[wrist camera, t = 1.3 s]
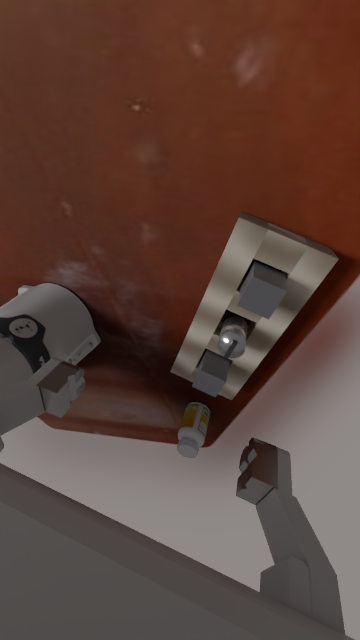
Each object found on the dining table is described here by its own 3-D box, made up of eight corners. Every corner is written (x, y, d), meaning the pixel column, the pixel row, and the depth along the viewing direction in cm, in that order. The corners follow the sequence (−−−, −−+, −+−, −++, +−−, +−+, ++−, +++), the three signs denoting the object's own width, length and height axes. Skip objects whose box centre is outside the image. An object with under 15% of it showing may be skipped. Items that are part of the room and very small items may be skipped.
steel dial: (240, 340, 38) (237, 365, 33) (218, 330, 38) (212, 354, 33) (252, 322, 35) (249, 346, 31) (228, 312, 36) (223, 334, 31)
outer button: (268, 299, 33) (268, 319, 29) (240, 287, 33) (236, 305, 29) (285, 274, 31) (287, 291, 27) (254, 261, 31) (253, 276, 27)
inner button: (220, 374, 42) (215, 397, 38) (198, 364, 43) (191, 386, 39) (230, 359, 40) (226, 381, 36) (207, 349, 40) (200, 370, 36)
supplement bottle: (183, 411, 56) (170, 452, 48) (190, 397, 53) (177, 438, 45) (206, 421, 56) (196, 464, 48) (214, 407, 53) (204, 451, 45)
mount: (234, 383, 47) (231, 400, 44) (176, 357, 48) (170, 371, 45) (331, 248, 31) (338, 259, 28) (241, 211, 32) (239, 217, 28)
